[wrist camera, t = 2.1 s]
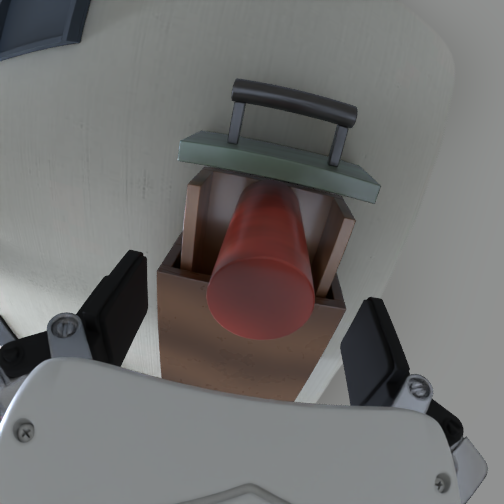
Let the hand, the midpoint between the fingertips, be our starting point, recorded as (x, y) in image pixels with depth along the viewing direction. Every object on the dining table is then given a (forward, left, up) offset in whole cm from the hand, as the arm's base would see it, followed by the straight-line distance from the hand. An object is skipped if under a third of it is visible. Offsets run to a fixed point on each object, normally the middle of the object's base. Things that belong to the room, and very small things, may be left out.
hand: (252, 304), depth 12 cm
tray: (+1, -30, -12) cm, 32 cm away
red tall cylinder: (0, 0, -10) cm, 10 cm away
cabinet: (+8, +6, -12) cm, 16 cm away
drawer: (-1, 0, -11) cm, 11 cm away
